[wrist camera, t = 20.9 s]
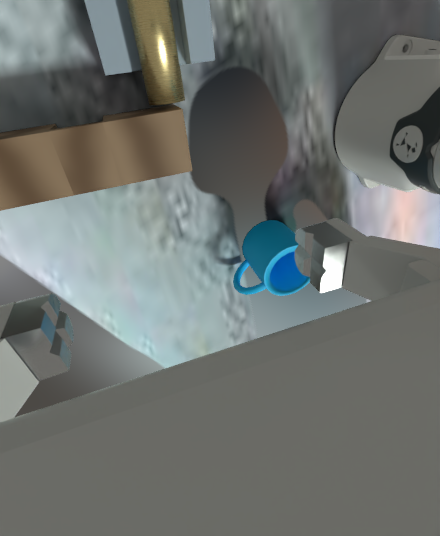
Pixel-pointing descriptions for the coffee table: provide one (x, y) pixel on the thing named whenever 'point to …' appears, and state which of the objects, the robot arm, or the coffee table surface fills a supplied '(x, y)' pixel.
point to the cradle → (123, 40)
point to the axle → (157, 50)
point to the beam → (91, 155)
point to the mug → (271, 260)
